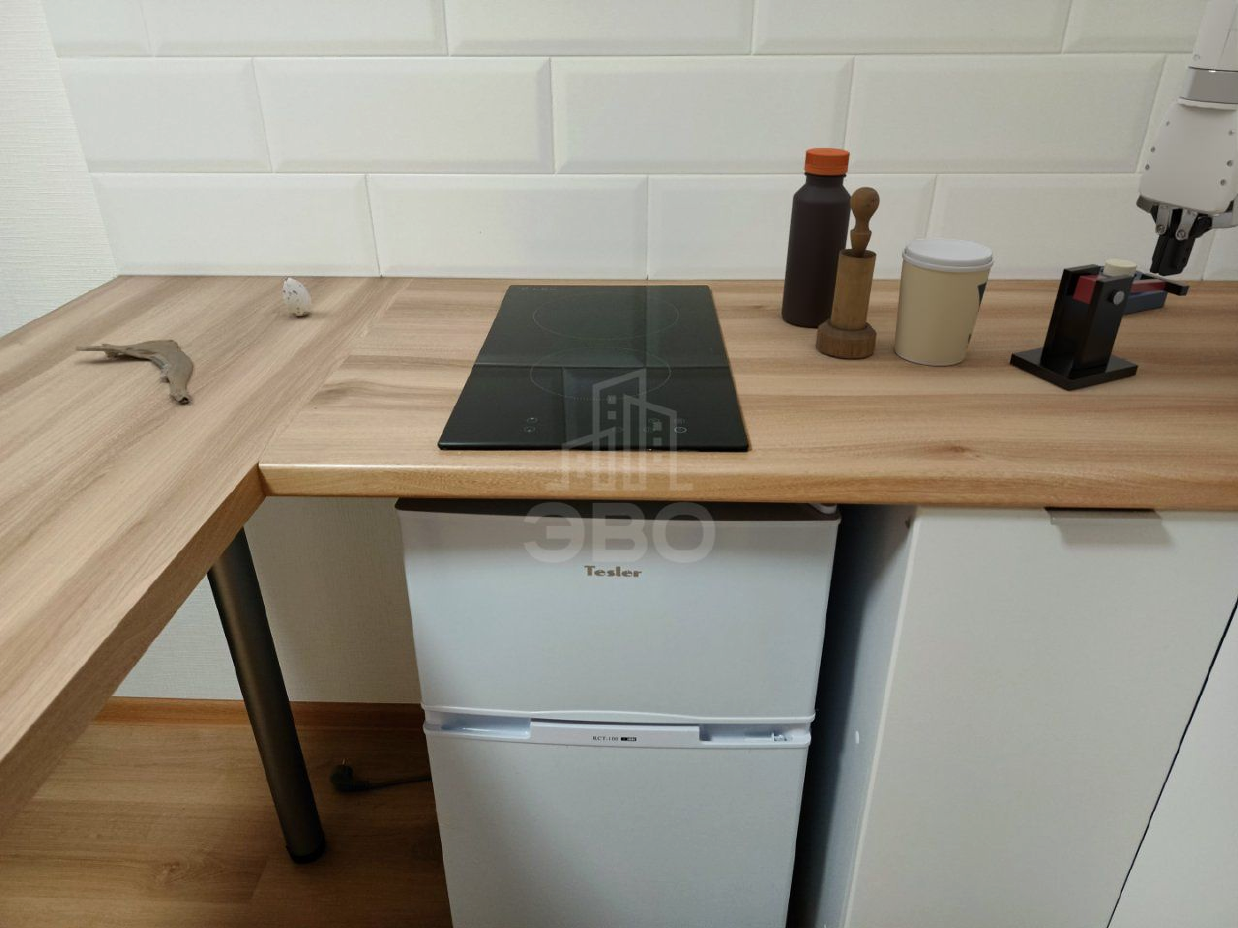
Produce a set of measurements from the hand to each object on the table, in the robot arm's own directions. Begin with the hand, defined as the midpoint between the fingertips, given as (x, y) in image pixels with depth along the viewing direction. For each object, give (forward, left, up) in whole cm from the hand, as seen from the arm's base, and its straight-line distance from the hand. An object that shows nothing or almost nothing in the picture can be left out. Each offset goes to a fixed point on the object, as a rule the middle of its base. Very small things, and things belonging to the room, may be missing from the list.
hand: (1165, 272), depth 93 cm
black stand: (+11, 0, -9) cm, 14 cm away
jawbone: (+104, -39, -10) cm, 111 cm away
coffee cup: (+22, -10, -10) cm, 26 cm away
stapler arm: (+6, 0, -2) cm, 6 cm away
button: (-12, -14, -6) cm, 19 cm away
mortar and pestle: (+30, -15, -10) cm, 35 cm away
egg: (+86, -52, -10) cm, 101 cm away
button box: (-12, -14, -9) cm, 21 cm away
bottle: (+28, -25, -10) cm, 39 cm away
